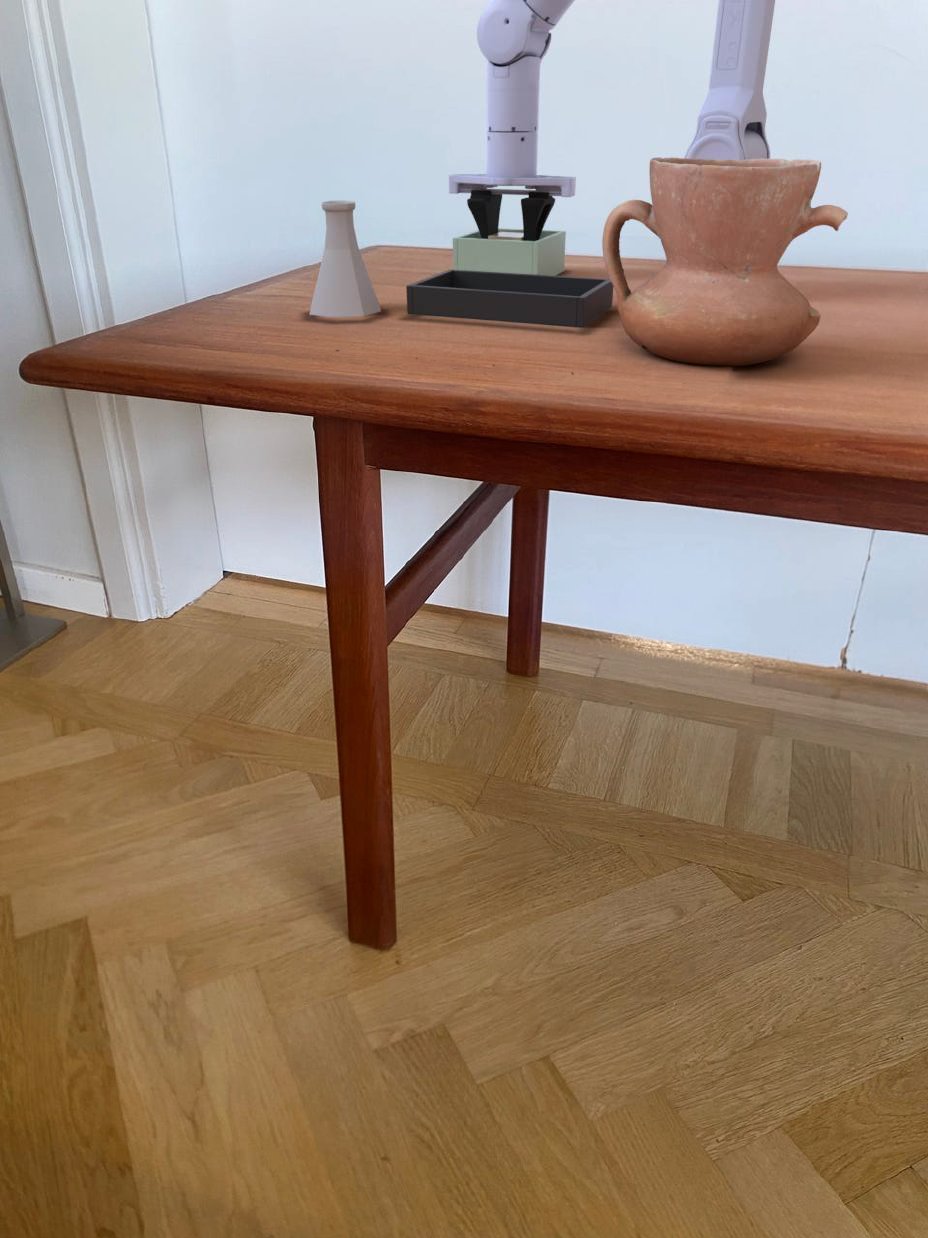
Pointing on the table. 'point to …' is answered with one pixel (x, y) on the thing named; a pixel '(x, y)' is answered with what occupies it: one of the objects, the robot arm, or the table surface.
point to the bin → (510, 253)
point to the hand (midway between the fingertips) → (509, 262)
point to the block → (507, 236)
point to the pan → (511, 297)
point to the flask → (342, 269)
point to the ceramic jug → (720, 259)
